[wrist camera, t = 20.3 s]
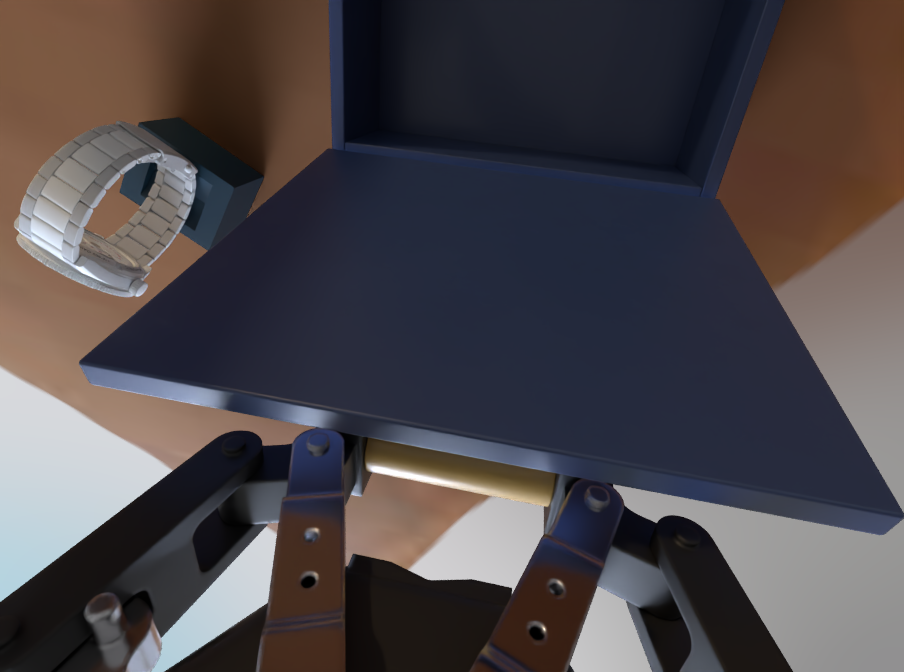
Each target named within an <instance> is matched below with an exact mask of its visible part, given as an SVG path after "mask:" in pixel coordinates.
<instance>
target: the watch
mask: <svg viewBox="0 0 904 672" xmlns="http://www.w3.org/2000/svg"><path fill="white" fill-rule="evenodd" d="M73 141H74V142H73ZM73 141H70V142H69V143H67V144H66V145H64V146H63V147H62V148H61V149H60V150H58V151H57V152H56V153H55V156H56V157H57V158H56V157H55V156H52V157H50V158H49V159H48V160H47V162H46V163H45V164H44V165H43V166H42V167H41V168H40V170H39V171H38V174H40V175H36V176H35V177H34V179H33V180H32V182H31V184H30V185H29V187H28V189H27V191H26V193H27V194H26V195H25V196H24V199H23V202H22V205H21V209H20V212H21V214H20V216H18V218H17V219H16V221H15V222H14V226H15V228H16V229H17V230H18V231H19V232H20V233H19V235H18V236H17V238H16V240H17V242H18V243H19V245H20V246H21V247H22V248H23V249H24V250H26V251H27V252H28V253H29V254H30V255H32V256H33V257H34V258H36V259H37V260H39V261H40V262H42V263H43V264H44V265H46V266H48V267H50V268H52V269H54V270H55V271H57V272H59V273H61V274H63V275H65V276H67V277H69V278H71V279H73V280H75V281H77V282H79V283H82V284H84V285H86V286H89V287H91V288H94V289H97V290H99V291H102V292H105V293H109V294H112V295H117V296H122V297H131V296H133V295H135V296H137V297H138V296H141V295H142V294H143V293H144V292H145V291H146V289H147V287H148V284H147V283H145V282H144V281H143V280H144V279H145V278H146V276H147V275H148V274H149V273H150V271H151V270H152V268H151V267H149V266H150V265H151V264H152V263H153V262H154V261H156V260H157V259H158V258H159V257H160V255H161V254H162V253H163V252H164V251H165V250H166V248H168V247H169V245H170V244H171V243H172V241H173V240H174V239H175V237H176V234H178V233H179V232H181V233H182V234H184V235H185V236H187V237H188V238H190V239H191V240H193V241H194V242H196V243H197V244H199V245H200V246H202V247H203V248H205V249H206V250H208V251H209V250H210V249H211V248H212V247H213V246H215V245H216V244H217V243H218V242H219V241H220V240H222V239H223V238H224V237H225V236H226V235H227V234H229V233H230V232H231V231H232V230H233V229H234V228H236V227H237V226H238V225H239V224H240V223H241V222H243V221H244V220H245V219H246V217H247V214H248V212H249V210H250V208H251V205H252V203H253V201H254V199H255V196H256V194H257V192H258V190H259V187H260V185H261V183H262V181H263V178H264V176H262V175H261V174H260V173H258V172H257V171H255V170H254V169H252V168H251V167H250V166H248V165H247V164H245V163H244V162H242V161H241V160H239V159H238V158H237V157H235V156H234V155H232V154H231V153H229V152H228V151H227V150H225V149H224V148H222V147H221V146H219V145H218V144H217V143H215V142H214V141H212V140H211V139H209V138H208V137H206V136H205V135H204V134H202V133H201V132H199V131H198V130H196V129H195V128H194V127H192V126H191V125H189V124H188V123H186V122H185V121H184V120H182V119H181V118H179V117H177V118H169V119H162V120H154V121H147V122H139V125H138V126H135V125H132V124H129V123H126V122H122V121H116V125H115V124H110V125H108V126H107V125H104V126H100V127H96V128H94V129H93V130H89V131H87V132H85V133H83V134H81V135H79V136H78V137H76V138H74V140H73ZM59 159H60V160H59ZM75 160H76V161H77V162H76V161H75ZM62 161H63V162H62ZM78 162H79V163H80V164H79V163H78ZM81 164H82V165H83V166H82V165H81ZM84 166H85V167H86V168H85V167H84ZM87 168H88V169H89V170H88V169H87ZM90 170H91V171H92V172H91V171H90ZM93 172H94V173H95V174H94V173H93ZM124 173H125V174H124ZM96 174H97V175H98V176H97V175H96ZM120 174H124V178H123V181H122V185H121V189H120V193H121V194H123V195H124V196H126V197H127V198H129V199H130V200H132V201H133V202H135V203H137V204H138V205H140V206H141V207H140V210H141V211H142V212H141V211H137V212H136V213H135V215H134V216H133V217H132V218H131V219H130V220H129V221H128V222H129V224H130V225H129V224H125V225H124V226H123V227H122V228H120V229H119V230H118V231H117V232H116V233H115V234H113V235H111V236H110V237H108V238H107V239H104V237H103V236H101V235H99V234H97V233H92V232H90V231H88V230H86V229H84V228H83V227H85V226H86V225H87V223H88V220H89V218H90V216H91V214H92V212H93V209H92V208H95V207H96V206H97V205H98V204H99V202H100V201H101V199H102V198H103V196H104V195H105V193H106V191H105V189H106V190H108V189H109V188H110V187H111V186H112V185H113V184H114V183H115V182H116V181H117V180H118V179H119V177H120ZM42 176H43V177H42ZM57 177H58V178H57ZM59 178H60V179H61V180H60V179H59ZM47 179H48V180H47ZM62 180H63V181H64V182H63V181H62ZM65 182H66V183H68V184H69V185H71V186H72V187H74V188H75V189H74V188H72V187H71V186H69V185H68V184H66V183H65ZM97 184H98V185H97ZM99 185H100V186H101V187H100V186H99ZM102 187H103V188H104V189H103V188H102ZM76 189H77V190H78V191H77V190H76ZM79 191H80V192H81V193H80V192H79ZM82 193H83V194H84V195H83V194H82ZM84 203H85V204H84ZM87 205H88V206H87ZM90 207H91V208H90ZM143 212H144V213H145V214H144V213H143ZM141 224H142V225H143V226H145V227H146V228H145V227H143V226H142V225H141ZM131 225H132V226H133V227H132V226H131ZM134 227H135V228H134ZM147 228H148V229H149V230H148V229H147ZM150 230H151V231H152V232H151V231H150ZM170 230H171V231H170ZM172 231H173V232H174V233H173V232H172ZM153 232H154V233H155V234H154V233H153ZM175 233H176V234H175ZM156 234H157V235H159V236H160V237H161V238H160V237H159V236H157V235H156ZM130 238H131V239H130ZM138 243H139V244H138ZM159 243H160V244H161V245H160V244H159ZM141 245H142V246H141ZM162 245H163V246H164V247H163V246H162ZM144 247H145V248H144ZM165 247H166V248H165ZM147 249H148V250H147Z"/></svg>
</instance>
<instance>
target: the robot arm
mask: <svg viewBox="0 0 904 672" xmlns="http://www.w3.org/2000/svg"><path fill="white" fill-rule="evenodd" d="M367 439H368V437H364V436H359V435H353V434H348V433H343V432H338V431H332V430H327V429H322V428H317V427H316V428H314V429H310V430H307V431H305V432H303V433H301V434H300V435H299V436H297V437H296V439H295V440H294V442H293V444H287V445H272V446H262V440H261V438H260V437H259V436H258V435H257V434H255V433H253V432H250V431H233V432H229V433H225V434H223V435H221V436H219V437H217V438H216V439H214V440H213V441H212V442H210V443H209V444H208V445H206V446H205V447H204V448H202V449H201V450H200V451H198V452H197V453H196V454H194V455H193V456H192V457H191V458H189V459H188V460H187V461H185V462H184V463H183V464H181V465H180V466H179V467H177V468H176V469H175V470H173V471H172V472H171V473H170V474H168V475H167V476H166V477H165V478H163V479H162V480H160V481H159V482H158V483H157V484H155V485H154V486H152V487H151V488H150V489H148V490H147V491H146V492H145V493H143V494H142V495H141V496H140V497H138V498H137V499H135V500H134V501H133V502H132V503H130V504H129V505H127V506H126V507H125V508H123V509H122V510H121V511H120V512H118V513H117V514H116V515H114V516H113V517H112V518H110V519H109V520H108V521H106V522H105V523H104V524H102V525H101V526H100V527H99V528H97V529H96V530H95V531H93V532H92V533H91V534H89V535H88V536H87V537H85V538H84V539H83V540H81V541H80V542H79V543H77V544H76V545H75V546H73V547H72V548H71V549H70V550H68V551H67V552H66V553H64V554H63V555H62V556H60V557H59V558H58V559H56V560H55V561H54V562H52V563H51V564H50V565H48V566H47V567H46V568H45V569H43V570H42V571H41V572H39V573H38V574H37V575H35V576H34V577H33V578H32V579H30V580H29V581H28V582H26V583H25V584H24V585H22V586H21V587H20V588H19V589H17V590H16V591H14V592H13V593H12V594H10V595H9V596H8V597H6V598H5V599H4V600H2V601H1V602H0V672H151V671H152V669H153V668H154V667H155V665H156V663H157V661H158V659H159V657H160V654H161V649H162V642H161V638H162V637H163V635H164V634H165V633H166V632H167V631H168V630H169V629H170V628H171V627H172V626H173V625H174V624H175V623H176V622H177V621H178V620H179V618H180V617H181V616H182V615H183V614H184V613H185V612H186V611H187V610H188V609H189V608H190V607H191V606H192V605H193V603H195V601H196V600H197V599H198V598H199V597H200V596H201V595H202V594H203V593H204V592H205V591H206V590H207V589H208V588H209V587H210V585H211V584H212V583H213V582H214V581H215V580H216V579H217V578H218V577H219V576H220V575H221V574H222V573H223V572H224V571H225V569H227V567H228V566H229V565H230V564H231V563H232V562H233V561H234V560H235V559H236V558H237V557H238V556H239V555H240V553H241V552H242V551H243V550H244V549H245V548H246V547H247V546H248V545H249V544H250V543H251V542H252V541H253V540H254V539H255V538H256V536H258V534H259V533H260V532H261V531H262V530H263V529H264V528H265V527H266V526H267V524H268V523H278V522H279V523H278V531H277V538H276V546H275V555H274V561H273V569H272V576H271V584H270V592H269V599H268V603H267V604H265V605H264V606H262V607H261V608H259V609H258V610H257V611H255V612H253V613H252V614H250V615H249V616H247V617H246V618H244V619H243V620H241V621H240V622H238V623H237V624H235V625H234V626H232V627H231V628H229V629H228V630H226V631H225V632H223V633H222V634H220V635H219V636H217V637H216V638H215V639H213V640H211V641H210V642H208V643H207V644H205V645H204V646H202V647H201V648H199V649H198V650H196V651H195V652H193V653H192V654H190V655H189V656H187V657H186V658H184V659H183V660H181V661H180V662H179V663H177V664H175V665H174V666H172V667H171V668H169V669H168V670H166V671H165V672H574V671H573V669H572V667H571V666H570V662H571V659H572V656H573V653H574V650H575V647H576V645H577V642H578V639H579V636H580V633H581V631H582V628H583V625H584V622H585V619H586V616H587V614H588V611H589V608H590V605H591V602H592V599H593V597H594V594H595V591H596V588H597V586H599V587H601V588H603V589H605V590H607V591H609V592H610V593H613V594H615V595H616V596H618V597H620V598H622V599H624V600H626V603H627V606H628V609H629V611H630V614H631V616H632V619H633V622H634V625H635V627H636V630H637V633H638V635H639V638H640V641H641V643H642V646H643V648H644V651H645V654H646V656H647V659H648V662H649V664H650V667H651V670H652V672H793V671H792V669H791V668H790V666H789V664H788V662H787V661H786V659H785V658H784V656H783V654H782V653H781V651H780V649H779V648H778V646H777V644H776V643H775V641H774V639H773V638H772V636H771V634H770V633H769V631H768V630H767V628H766V626H765V625H764V623H763V621H762V620H761V618H760V616H759V615H758V613H757V611H756V610H755V608H754V606H753V605H752V603H751V602H750V600H749V598H748V597H747V595H746V593H745V592H744V590H743V588H742V587H741V585H740V584H739V582H738V580H737V578H736V577H735V575H734V574H733V572H732V570H731V569H730V567H729V565H728V564H727V562H726V560H725V559H724V557H723V555H722V554H721V552H720V550H719V549H718V547H717V545H716V544H715V542H714V540H713V539H712V537H711V536H710V535H709V533H708V532H707V531H706V530H705V529H703V528H702V527H701V526H700V525H698V524H697V523H695V522H693V521H692V520H689V519H687V518H684V517H680V516H673V515H671V516H665V517H663V518H661V519H660V520H659V521H658V523H655V522H653V521H651V520H648V519H646V518H644V517H642V516H640V515H638V514H636V513H634V512H632V511H631V510H629V509H628V508H627V507H625V505H624V502H623V499H622V497H621V495H620V494H619V493H618V492H617V491H616V490H615V489H614V488H613V484H610V483H604V482H599V481H594V480H589V479H584V478H578V477H573V476H568V475H563V474H557V473H556V479H555V486H554V491H553V496H552V499H551V502H550V505H549V506H548V507H545V506H544V535H543V537H542V538H541V540H540V542H539V544H538V546H537V548H536V550H535V551H534V553H533V555H532V557H531V559H530V561H529V563H528V565H527V567H526V569H525V571H524V573H523V575H522V576H521V578H520V580H519V582H518V584H517V586H516V588H515V590H514V592H513V594H512V588H509V587H504V586H500V585H495V584H491V583H486V582H481V581H477V580H472V579H469V580H427V579H424V578H423V577H421V576H419V575H417V574H415V573H413V572H411V571H408V570H406V569H404V568H402V567H400V566H398V565H396V564H394V563H392V562H389V561H385V560H380V559H375V558H371V557H366V556H361V555H357V554H353V555H352V558H351V560H350V563H349V565H348V566H346V522H345V506H346V504H347V501H348V499H349V497H350V495H351V494H352V495H357V496H362V494H363V492H364V490H365V488H366V485H367V483H368V481H369V478H370V476H371V474H372V472H369V471H367V470H366V469H365V465H364V458H365V449H366V443H367Z"/></svg>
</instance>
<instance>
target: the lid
mask: <svg viewBox="0 0 904 672" xmlns="http://www.w3.org/2000/svg"><path fill="white" fill-rule="evenodd" d="M79 365H80V367H81V368H82V370H83V372H84V374H85V375H86V377H87V379H88V381H89V382H90V383H91V384H93V385H97V386H102V387H108V388H113V389H118V390H123V391H128V392H134V393H139V394H144V395H149V396H155V397H160V398H165V399H170V400H176V401H181V402H186V403H191V404H196V405H202V406H207V407H212V408H217V409H223V410H228V411H233V412H238V413H244V414H249V415H254V416H259V417H264V418H270V419H275V420H280V421H285V422H291V423H296V424H301V425H306V426H312V427H317V428H322V429H327V430H332V431H338V432H343V433H348V434H353V435H359V436H364V437H368V439H367V443H366V449H365V458H364V465H365V469H366V470H367V471H369V472H374V473H379V474H384V475H389V476H394V477H399V478H404V479H409V480H414V481H419V482H424V483H429V484H434V485H439V486H444V487H449V488H455V489H460V490H465V491H470V492H475V493H480V494H485V495H490V496H495V497H500V498H505V499H510V500H515V501H521V502H525V503H530V504H536V505H540V506H545V507H548V506H549V505H550V502H551V499H552V496H553V491H554V486H555V479H556V473H557V474H563V475H568V476H573V477H578V478H584V479H589V480H594V481H599V482H604V483H610V484H615V485H621V486H625V487H631V488H636V489H641V490H647V491H652V492H657V493H662V494H667V495H672V496H678V497H684V498H689V499H694V500H699V501H704V502H709V503H715V504H720V505H725V506H730V507H735V508H740V509H746V510H752V511H756V512H762V513H767V514H773V515H777V516H783V517H788V518H793V519H798V520H803V521H809V522H814V523H819V524H824V525H829V526H835V527H840V528H845V529H850V530H856V531H861V532H866V533H871V534H876V535H883V534H886V533H887V532H888V531H889V530H890V529H891V528H893V527H894V526H895V525H897V524H898V523H899V522H900V521H901V520H902V519H904V513H903V511H902V509H901V508H900V506H899V504H898V503H897V501H896V499H895V497H894V496H893V494H892V492H891V491H890V489H889V487H888V486H887V484H886V482H885V480H884V479H883V477H882V475H881V474H880V472H879V470H878V469H877V467H876V465H875V464H874V462H873V460H872V458H871V457H870V455H869V453H868V452H867V450H866V448H865V447H864V445H863V443H862V441H861V440H860V438H859V436H858V435H857V433H856V431H855V430H854V428H853V426H852V424H851V423H850V421H849V419H848V418H847V416H846V414H845V413H844V411H843V409H842V407H841V406H840V404H839V402H838V401H837V399H836V397H835V395H834V394H833V392H832V390H831V389H830V387H829V385H828V384H827V382H826V380H825V379H824V377H823V375H822V373H821V372H820V370H819V368H818V367H817V365H816V363H815V361H814V360H813V358H812V356H811V355H810V353H809V351H808V350H807V348H806V346H805V344H804V343H803V341H802V339H801V338H800V336H799V334H798V333H797V331H796V329H795V327H794V326H793V324H792V322H791V321H790V319H789V317H788V316H787V314H786V312H785V311H784V309H783V307H782V305H781V304H780V302H779V300H778V299H777V297H776V295H775V293H774V292H773V290H772V288H771V287H770V285H769V283H768V282H767V280H766V278H765V276H764V275H763V273H762V271H761V270H760V268H759V266H758V265H757V263H756V261H755V259H754V258H753V256H752V254H751V253H750V251H749V249H748V248H747V246H746V244H745V242H744V241H743V239H742V237H741V236H740V234H739V232H738V231H737V229H736V227H735V225H734V224H733V222H732V220H731V219H730V217H729V215H728V214H727V212H726V210H725V208H724V207H723V205H722V203H721V202H720V200H719V199H712V198H705V197H697V196H689V195H682V194H674V193H666V192H659V191H651V190H643V189H635V188H628V187H620V186H612V185H605V184H597V183H589V182H582V181H574V180H566V179H559V178H551V177H543V176H536V175H528V174H520V173H512V172H505V171H497V170H489V169H482V168H474V167H466V166H459V165H451V164H443V163H436V162H428V161H420V160H412V159H405V158H397V157H389V156H382V155H374V154H366V153H359V152H351V151H343V150H336V149H327V150H326V151H324V152H323V153H322V154H321V155H320V156H319V157H317V158H316V159H315V160H314V161H313V162H312V163H310V164H309V165H308V166H307V167H306V168H305V169H303V170H302V171H301V172H300V173H299V174H298V175H296V176H295V177H294V178H293V179H292V180H291V181H289V182H288V183H287V184H286V185H285V186H284V187H282V188H281V189H280V190H279V191H278V192H277V193H275V194H274V195H273V196H272V197H271V198H270V199H268V200H267V201H266V202H265V203H264V204H262V205H261V206H260V207H259V208H258V209H257V210H255V211H254V212H253V213H252V214H251V215H250V216H248V217H247V218H246V219H245V220H244V221H243V222H241V223H240V224H239V225H238V226H237V227H236V228H234V229H233V230H232V231H231V232H230V233H229V234H227V235H226V236H225V237H224V238H223V239H222V240H220V241H219V242H218V243H217V244H216V245H215V246H213V247H212V248H211V249H210V250H209V251H208V252H206V253H205V254H204V255H203V256H202V257H200V258H199V259H198V260H197V261H196V262H195V263H193V264H192V265H191V266H190V267H189V268H188V269H186V270H185V271H184V272H183V273H182V274H181V275H179V276H178V277H177V278H176V279H175V280H174V281H172V282H171V283H170V284H169V285H168V286H167V287H165V288H164V289H163V290H162V291H161V292H160V293H158V294H157V295H156V296H155V297H154V298H153V299H151V300H150V301H149V302H148V303H147V304H146V305H144V306H143V307H142V308H141V309H140V310H138V311H137V312H136V313H135V314H134V315H133V316H131V317H130V318H129V319H128V320H127V321H126V322H124V323H123V324H122V325H121V326H120V327H119V328H117V329H116V330H115V331H114V332H113V333H112V334H110V335H109V336H108V337H107V338H106V339H105V340H103V341H102V342H101V343H100V344H99V345H98V346H96V347H95V348H94V349H93V350H92V351H91V352H89V353H88V354H87V355H86V356H85V357H84V358H82V359H81V360H80V362H79Z"/></svg>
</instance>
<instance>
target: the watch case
mask: <svg viewBox="0 0 904 672" xmlns="http://www.w3.org/2000/svg"><path fill="white" fill-rule="evenodd" d="M784 2H785V0H329V32H330V73H331V114H332V149H336V150H343V151H351V152H359V153H366V154H374V155H382V156H389V157H397V158H405V159H412V160H420V161H428V162H436V163H443V164H451V165H459V166H466V167H474V168H482V169H489V170H497V171H505V172H512V173H520V174H528V175H536V176H543V177H551V178H559V179H566V180H574V181H582V182H589V183H597V184H605V185H612V186H620V187H628V188H635V189H643V190H651V191H659V192H666V193H674V194H682V195H689V196H697V197H705V198H712V199H715V197H716V194H717V191H718V189H719V186H720V183H721V180H722V177H723V174H724V172H725V169H726V166H727V163H728V160H729V157H730V155H731V152H732V149H733V146H734V143H735V140H736V138H737V135H738V132H739V129H740V126H741V124H742V121H743V118H744V115H745V112H746V109H747V107H748V104H749V101H750V98H751V95H752V92H753V90H754V87H755V84H756V81H757V78H758V75H759V73H760V70H761V67H762V64H763V61H764V59H765V56H766V53H767V50H768V47H769V44H770V42H771V39H772V36H773V33H774V30H775V27H776V25H777V22H778V19H779V16H780V13H781V11H782V8H783V5H784Z"/></svg>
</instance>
